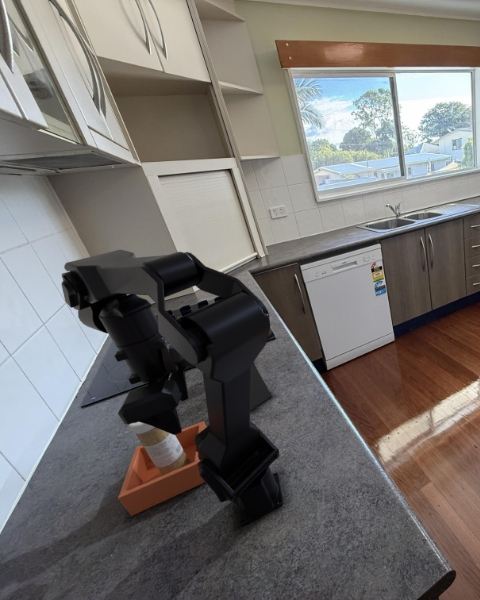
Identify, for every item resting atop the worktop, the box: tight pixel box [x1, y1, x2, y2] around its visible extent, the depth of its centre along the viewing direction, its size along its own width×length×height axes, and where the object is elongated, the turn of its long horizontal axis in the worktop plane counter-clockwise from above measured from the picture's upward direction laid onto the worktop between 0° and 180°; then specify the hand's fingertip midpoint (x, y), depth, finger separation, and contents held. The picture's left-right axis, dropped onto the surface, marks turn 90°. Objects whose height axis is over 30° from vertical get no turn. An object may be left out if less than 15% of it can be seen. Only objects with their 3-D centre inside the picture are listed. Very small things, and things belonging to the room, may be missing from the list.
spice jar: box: [128, 422, 190, 476], centre depth 56 cm, size 5×5×14 cm
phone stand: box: [250, 361, 273, 412], centre depth 73 cm, size 9×6×12 cm, turn 53°
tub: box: [117, 420, 208, 517], centre depth 58 cm, size 12×12×4 cm
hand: (182, 415), depth 53 cm, fingers open, 9 cm apart
